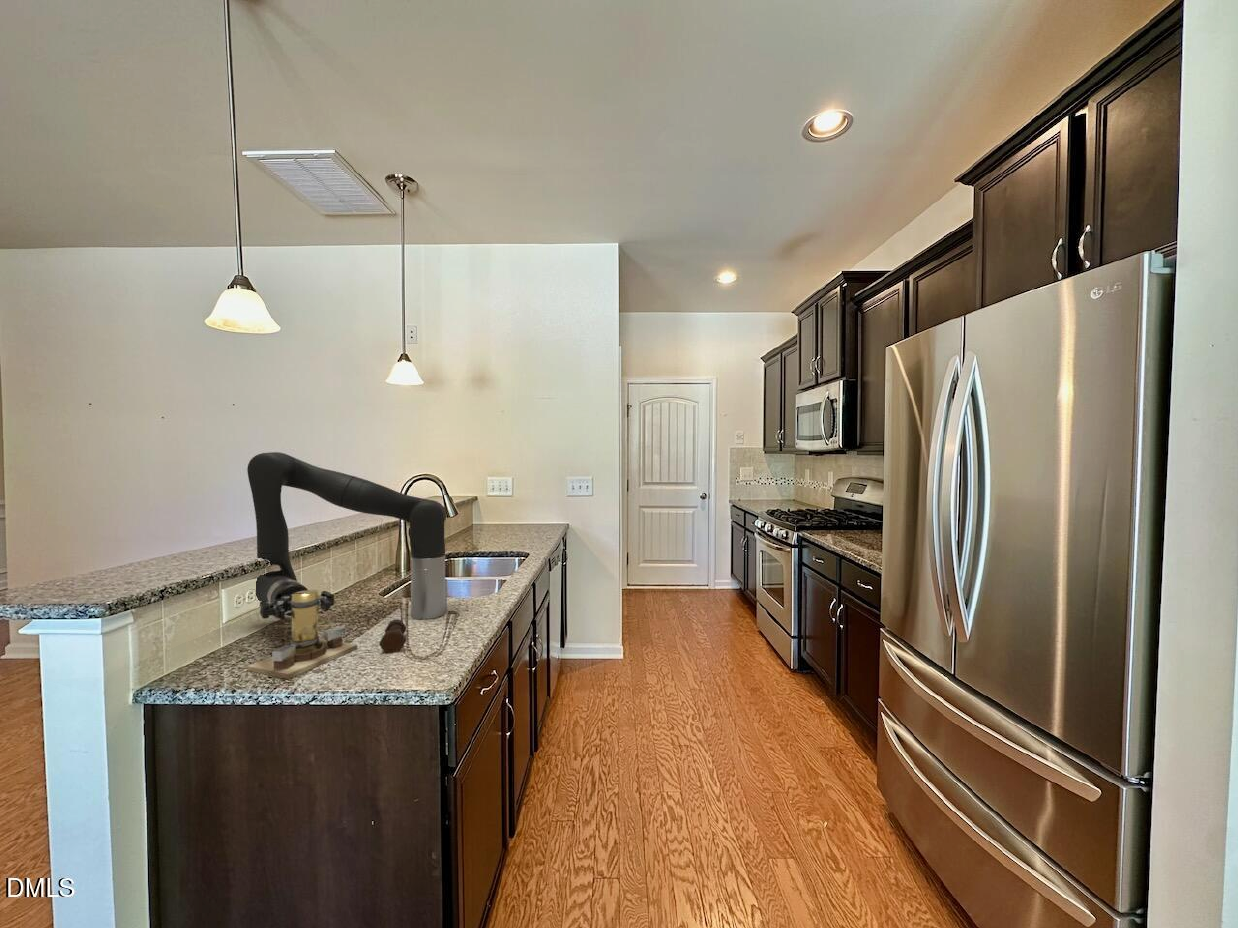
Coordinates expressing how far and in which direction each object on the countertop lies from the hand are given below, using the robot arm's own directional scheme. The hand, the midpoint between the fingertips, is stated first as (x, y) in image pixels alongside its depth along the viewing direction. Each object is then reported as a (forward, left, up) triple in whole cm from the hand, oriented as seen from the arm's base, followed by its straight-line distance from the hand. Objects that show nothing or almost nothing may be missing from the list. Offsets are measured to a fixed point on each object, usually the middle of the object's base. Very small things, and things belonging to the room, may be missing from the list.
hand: (305, 610), depth 109 cm
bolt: (-15, +11, -11) cm, 22 cm away
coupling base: (0, 0, -11) cm, 11 cm away
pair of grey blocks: (0, +2, -8) cm, 8 cm away
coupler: (0, 0, -10) cm, 10 cm away
